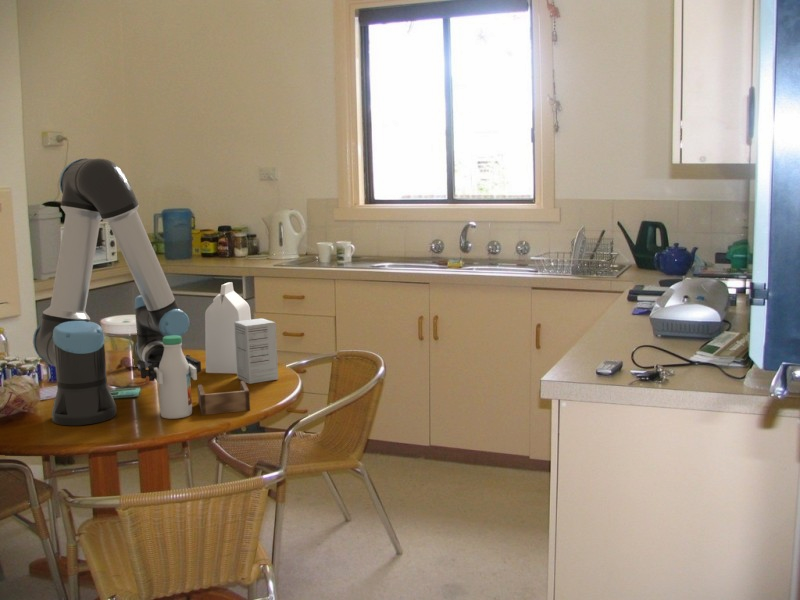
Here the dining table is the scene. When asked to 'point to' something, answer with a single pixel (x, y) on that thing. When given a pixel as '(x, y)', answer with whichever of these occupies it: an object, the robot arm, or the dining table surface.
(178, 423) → the dining table surface
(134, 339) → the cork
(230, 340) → the milk
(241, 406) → the walnut U-rest
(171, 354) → the milk bottle
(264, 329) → the supplement box
